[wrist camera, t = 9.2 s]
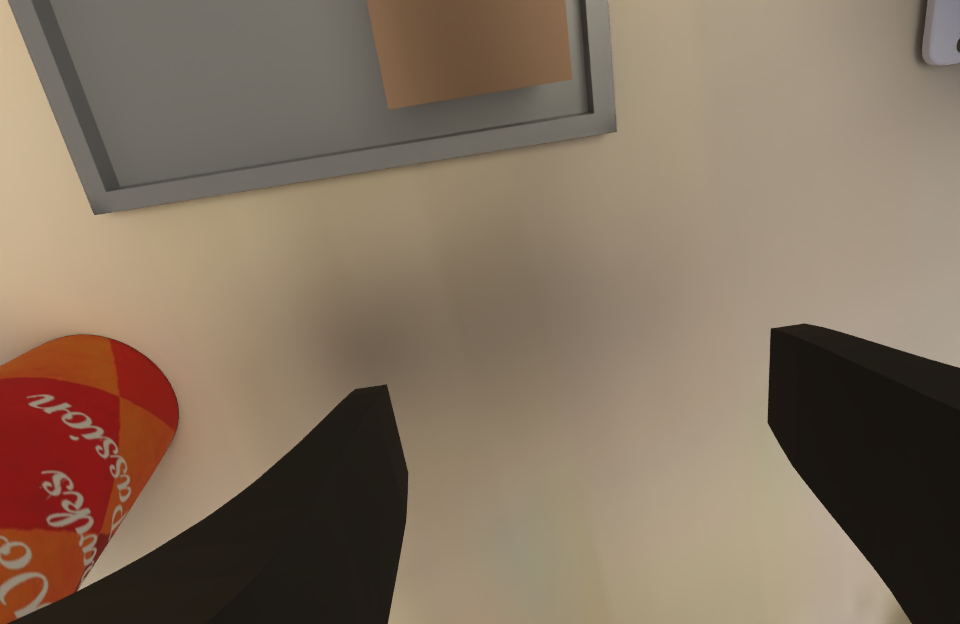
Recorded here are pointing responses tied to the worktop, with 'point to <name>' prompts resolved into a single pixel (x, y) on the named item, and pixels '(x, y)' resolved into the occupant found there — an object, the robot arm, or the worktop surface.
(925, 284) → the worktop surface
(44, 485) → the paper cup
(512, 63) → the walnut block
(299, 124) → the parts tray
